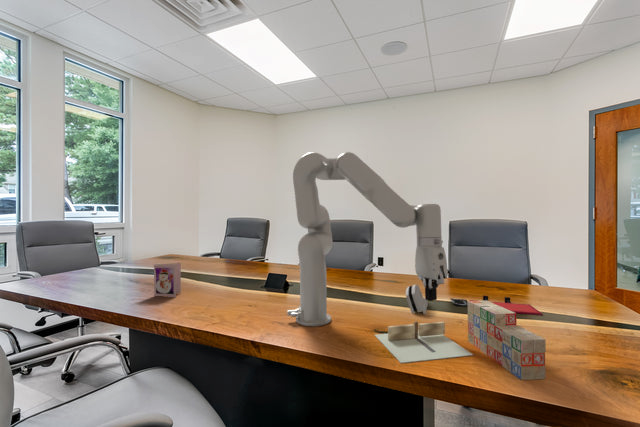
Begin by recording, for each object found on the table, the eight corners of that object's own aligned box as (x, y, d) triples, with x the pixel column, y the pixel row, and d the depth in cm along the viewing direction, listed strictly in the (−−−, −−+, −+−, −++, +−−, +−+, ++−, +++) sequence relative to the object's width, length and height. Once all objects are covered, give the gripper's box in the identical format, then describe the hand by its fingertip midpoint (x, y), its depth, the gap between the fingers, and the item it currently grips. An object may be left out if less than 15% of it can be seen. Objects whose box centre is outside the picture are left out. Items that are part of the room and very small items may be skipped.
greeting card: (152, 296, 139) (152, 265, 139) (163, 292, 146) (163, 262, 146) (174, 297, 137) (174, 265, 137) (184, 293, 144) (184, 263, 144)
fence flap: (420, 336, 90) (420, 324, 90) (418, 335, 91) (418, 323, 91) (444, 334, 91) (444, 322, 91) (443, 333, 92) (443, 321, 92)
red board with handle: (449, 299, 133) (455, 310, 118) (449, 293, 133) (455, 303, 118) (525, 305, 125) (542, 317, 110) (525, 298, 125) (542, 310, 110)
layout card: (400, 363, 75) (400, 362, 75) (374, 335, 93) (374, 334, 93) (473, 355, 79) (473, 354, 79) (434, 329, 97) (434, 329, 97)
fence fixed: (389, 342, 88) (389, 325, 88) (387, 340, 89) (387, 323, 89) (418, 339, 90) (418, 322, 90) (416, 337, 91) (416, 321, 91)
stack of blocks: (546, 379, 68) (546, 326, 68) (520, 381, 67) (520, 326, 67) (487, 340, 89) (487, 299, 89) (467, 341, 88) (467, 300, 88)
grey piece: (425, 314, 111) (415, 289, 113) (412, 317, 113) (403, 292, 115) (428, 302, 127) (419, 280, 128) (417, 305, 129) (409, 283, 130)
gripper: (456, 243, 89) (458, 304, 88) (422, 240, 103) (424, 293, 102) (436, 244, 86) (439, 307, 86) (404, 241, 100) (406, 295, 100)
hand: (431, 299), depth 94 cm, fingers closed
